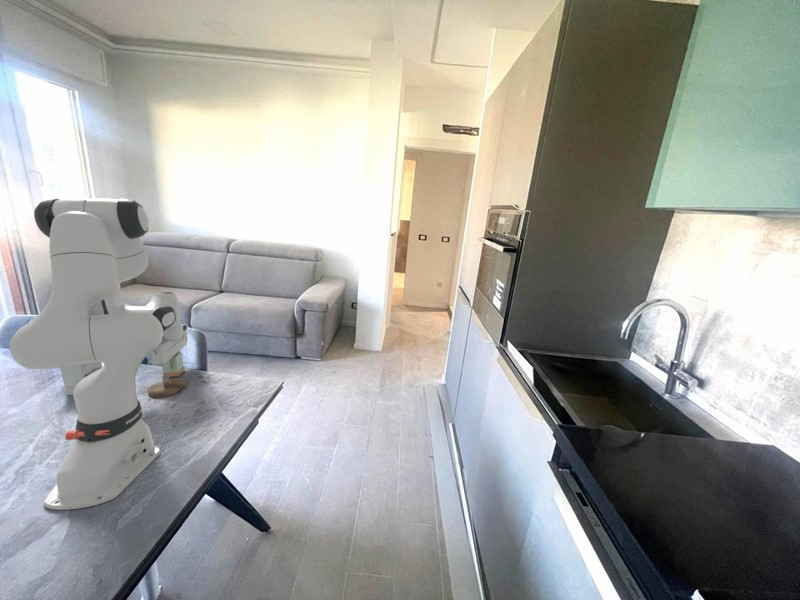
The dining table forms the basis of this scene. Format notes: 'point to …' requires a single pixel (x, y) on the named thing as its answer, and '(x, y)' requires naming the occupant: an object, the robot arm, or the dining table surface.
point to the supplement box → (77, 374)
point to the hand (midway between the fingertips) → (172, 365)
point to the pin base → (166, 387)
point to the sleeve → (175, 366)
